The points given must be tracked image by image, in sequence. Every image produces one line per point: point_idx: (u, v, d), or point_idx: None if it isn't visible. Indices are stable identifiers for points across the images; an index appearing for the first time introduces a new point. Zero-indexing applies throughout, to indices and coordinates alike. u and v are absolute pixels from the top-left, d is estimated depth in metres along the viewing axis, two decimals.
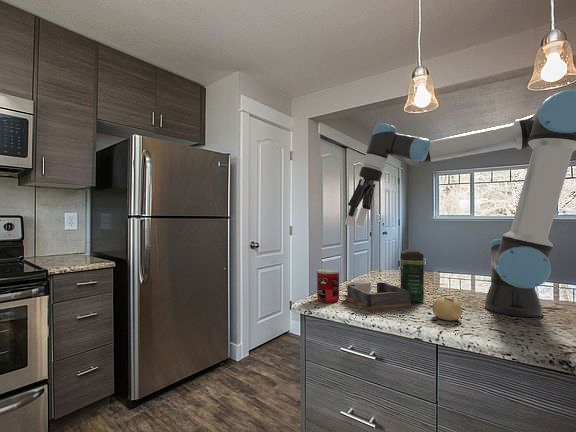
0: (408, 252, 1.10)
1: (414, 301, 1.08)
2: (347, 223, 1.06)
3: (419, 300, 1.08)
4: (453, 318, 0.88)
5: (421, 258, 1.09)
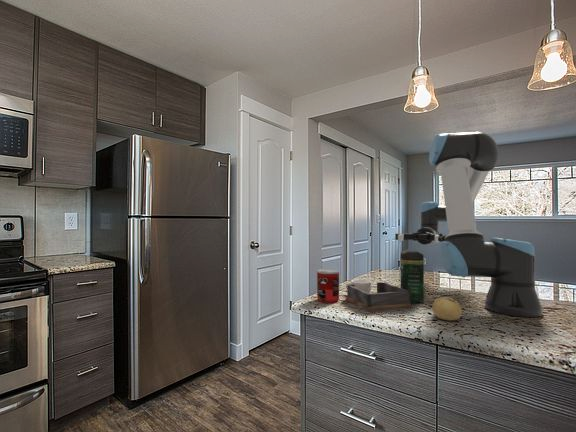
0: (408, 252, 1.10)
1: (414, 301, 1.08)
2: None
3: (419, 300, 1.08)
4: (453, 318, 0.88)
5: (421, 258, 1.09)
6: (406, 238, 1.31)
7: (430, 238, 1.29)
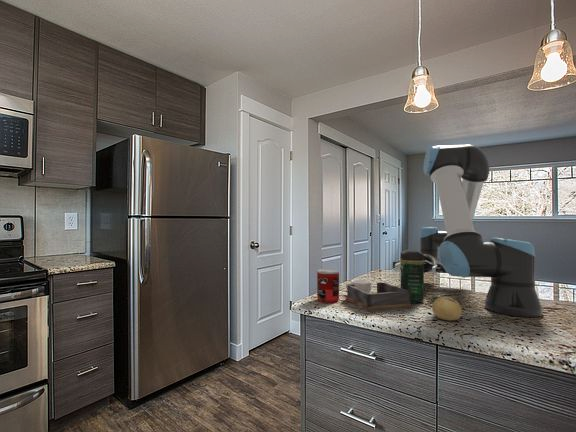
0: (408, 252, 1.10)
1: (414, 301, 1.08)
2: None
3: (419, 300, 1.08)
4: (453, 318, 0.88)
5: (421, 258, 1.09)
6: None
7: (428, 267, 1.26)
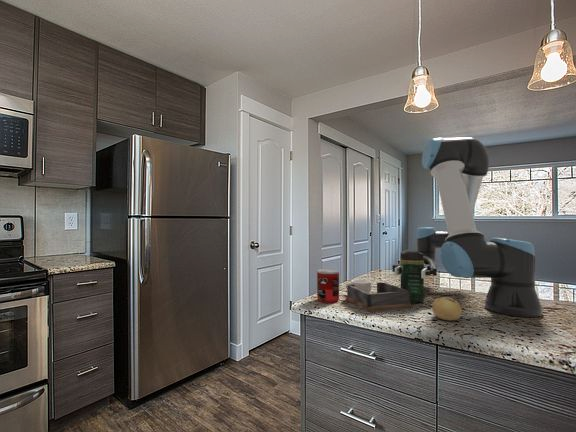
0: (408, 252, 1.10)
1: (414, 301, 1.08)
2: None
3: (419, 300, 1.08)
4: (453, 318, 0.88)
5: (421, 258, 1.09)
6: None
7: None
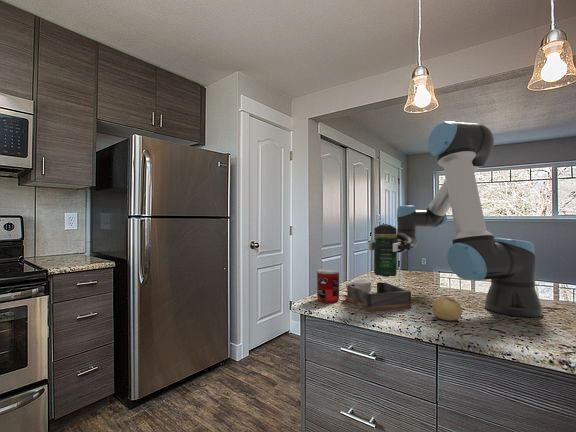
0: (380, 226, 1.08)
1: (385, 275, 1.07)
2: None
3: (391, 274, 1.07)
4: (453, 318, 0.88)
5: (393, 231, 1.07)
6: None
7: None
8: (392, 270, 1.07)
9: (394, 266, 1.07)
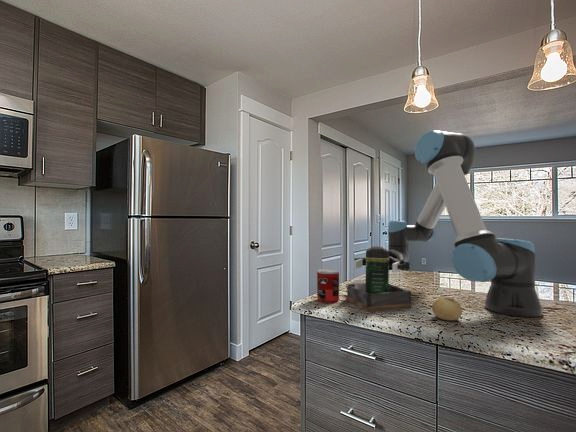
0: (372, 249, 1.05)
1: None
2: None
3: None
4: (453, 318, 0.88)
5: (385, 255, 1.04)
6: None
7: None
8: None
9: (386, 291, 1.04)
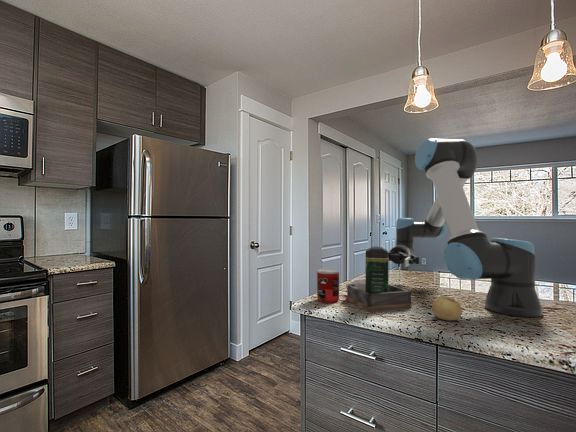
0: (372, 249, 1.05)
1: None
2: None
3: None
4: (453, 318, 0.88)
5: (385, 255, 1.04)
6: None
7: (402, 259, 1.24)
8: None
9: (386, 291, 1.04)
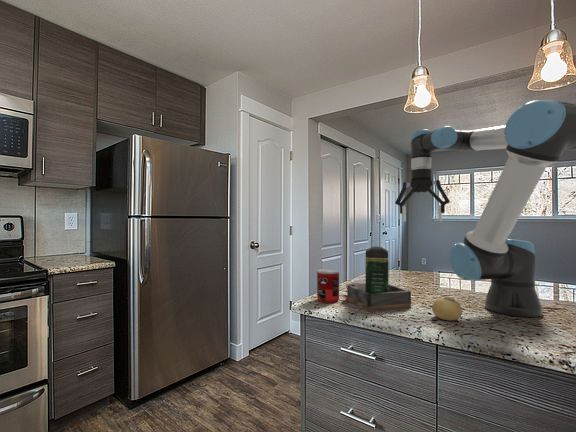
0: (372, 249, 1.05)
1: None
2: None
3: None
4: (453, 318, 0.88)
5: (385, 255, 1.04)
6: None
7: None
8: None
9: (386, 291, 1.04)
